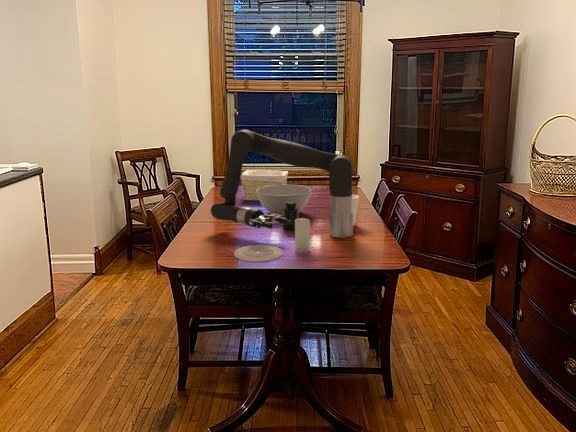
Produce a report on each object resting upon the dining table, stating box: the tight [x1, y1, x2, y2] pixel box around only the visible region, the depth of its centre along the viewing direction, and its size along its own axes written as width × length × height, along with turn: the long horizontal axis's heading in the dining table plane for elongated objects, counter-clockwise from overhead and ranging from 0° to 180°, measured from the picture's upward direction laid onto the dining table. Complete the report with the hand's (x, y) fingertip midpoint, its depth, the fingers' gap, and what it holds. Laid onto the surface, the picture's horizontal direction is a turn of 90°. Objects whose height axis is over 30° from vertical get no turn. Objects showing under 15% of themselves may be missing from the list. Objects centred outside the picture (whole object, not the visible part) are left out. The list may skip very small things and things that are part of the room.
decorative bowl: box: [256, 184, 313, 218], centre depth 267 cm, size 27×27×12 cm
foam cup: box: [352, 194, 360, 227], centre depth 246 cm, size 10×9×13 cm
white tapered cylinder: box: [294, 217, 311, 253], centre depth 211 cm, size 6×6×12 cm
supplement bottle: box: [282, 201, 300, 232], centre depth 241 cm, size 7×7×12 cm
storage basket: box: [240, 169, 289, 202], centre depth 301 cm, size 24×16×15 cm
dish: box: [233, 244, 283, 263], centre depth 208 cm, size 18×18×1 cm
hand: (279, 223), depth 217 cm, fingers open, 8 cm apart
